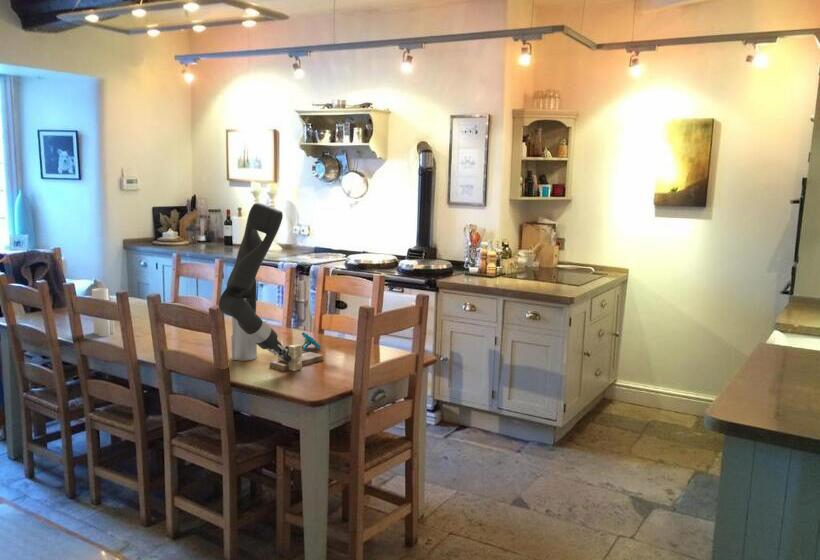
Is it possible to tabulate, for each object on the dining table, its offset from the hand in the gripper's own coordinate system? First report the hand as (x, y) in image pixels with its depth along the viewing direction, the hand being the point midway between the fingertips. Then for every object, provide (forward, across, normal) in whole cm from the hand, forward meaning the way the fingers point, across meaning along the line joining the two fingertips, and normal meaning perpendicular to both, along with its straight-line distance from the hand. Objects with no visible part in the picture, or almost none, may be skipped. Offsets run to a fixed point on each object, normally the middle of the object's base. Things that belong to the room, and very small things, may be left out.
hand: (288, 360), depth 244 cm
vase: (-9, +106, +15) cm, 108 cm away
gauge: (+5, +3, +1) cm, 6 cm away
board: (+9, +6, -3) cm, 11 cm away
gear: (+23, +18, -16) cm, 33 cm away
